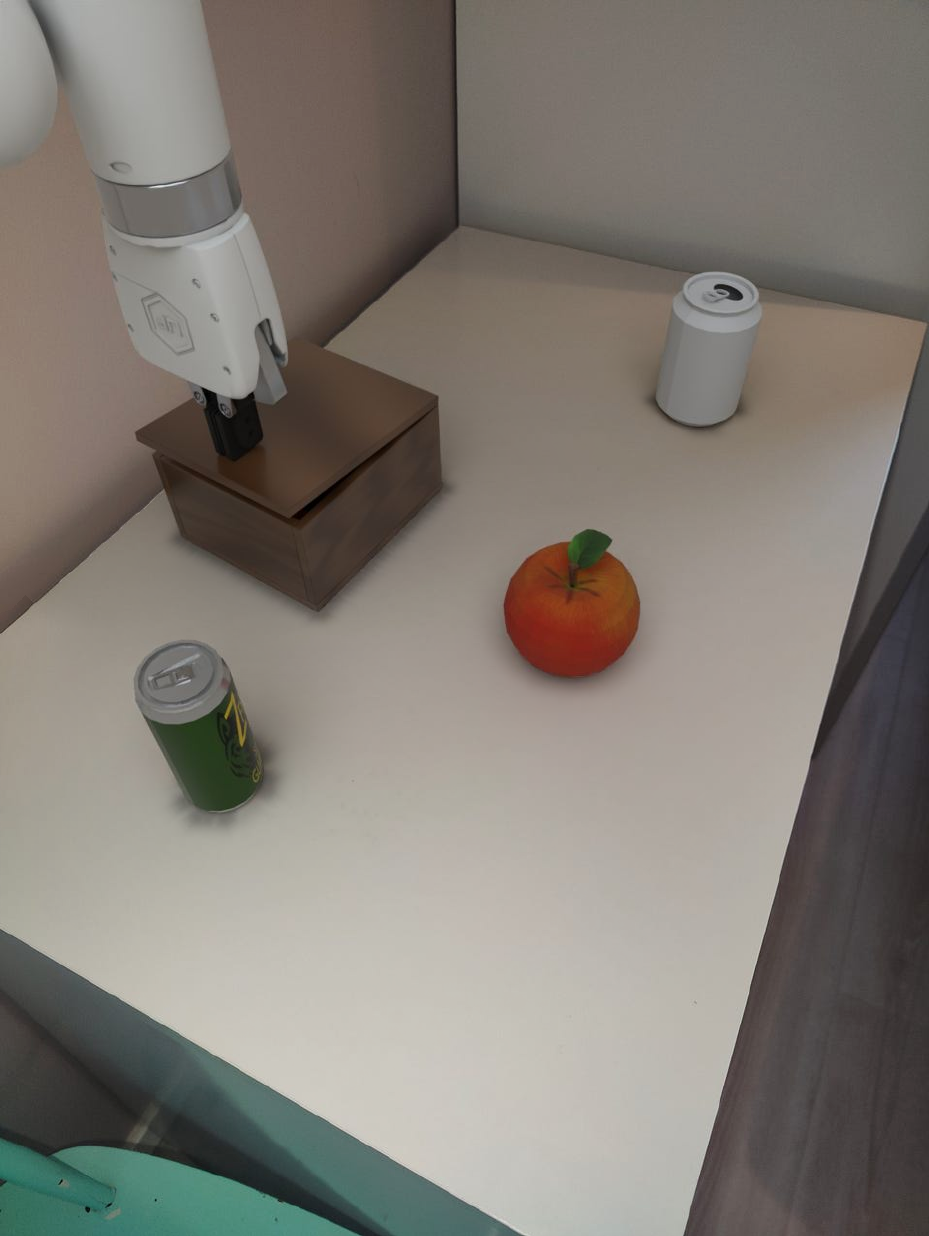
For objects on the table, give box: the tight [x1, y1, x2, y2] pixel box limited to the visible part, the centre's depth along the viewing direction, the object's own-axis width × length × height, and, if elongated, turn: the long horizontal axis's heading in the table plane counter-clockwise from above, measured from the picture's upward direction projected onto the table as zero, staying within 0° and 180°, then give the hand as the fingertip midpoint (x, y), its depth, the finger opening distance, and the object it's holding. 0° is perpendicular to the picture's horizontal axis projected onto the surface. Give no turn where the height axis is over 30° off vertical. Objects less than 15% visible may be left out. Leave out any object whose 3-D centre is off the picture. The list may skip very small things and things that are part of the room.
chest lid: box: [134, 336, 440, 518], centre depth 68 cm, size 17×15×1 cm
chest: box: [151, 404, 443, 613], centre depth 72 cm, size 17×15×9 cm
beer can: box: [133, 639, 265, 813], centre depth 55 cm, size 5×5×12 cm
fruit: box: [502, 528, 641, 678], centre depth 63 cm, size 10×10×10 cm
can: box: [655, 271, 763, 428], centre depth 79 cm, size 8×8×12 cm
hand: (240, 446), depth 64 cm, fingers closed
